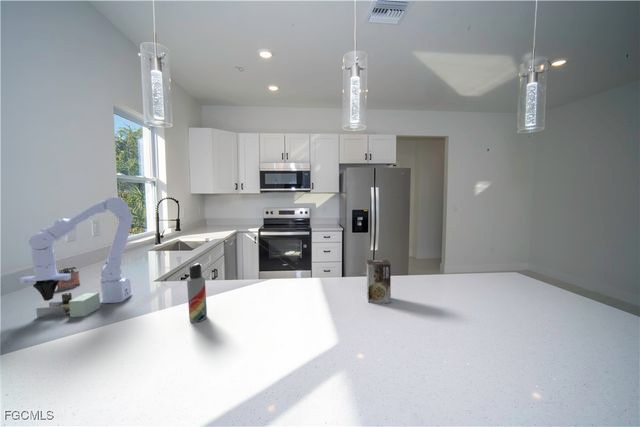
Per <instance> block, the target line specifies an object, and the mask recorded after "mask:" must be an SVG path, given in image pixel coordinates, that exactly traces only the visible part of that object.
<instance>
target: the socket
mask: <svg viewBox="0 0 640 427" xmlns="http://www.w3.org/2000/svg"><path fill="white" fill-rule="evenodd" d="M100 300H101V299H100V292H87V293H86V292H85V293H84V294H83V293H82V295H79V296H77V297H75V298H72V300H71V301H69V308H70V313H69V315H70V316H69V317H70V318H77V317H87V316H88V315H90V314H91V313H93V312H95V311H96V310H98V309H100V308H101V303H100Z"/></svg>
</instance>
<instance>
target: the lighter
mask: <svg viewBox="0 0 640 427" xmlns="http://www.w3.org/2000/svg"><path fill="white" fill-rule="evenodd" d="M77 267H78V266H76V265H74V266H70V267H65V266H64V267H63V268H59V269H58V272H59V274H71V279H69V280H60V281H59V283H58V285H57V286H56V291H63V290H68V289H72V288H76V287H80V286H81V283H80V282H81V281H80V274H79V273H80V270H79V269H78V268H77Z"/></svg>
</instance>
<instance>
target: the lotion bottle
mask: <svg viewBox="0 0 640 427" xmlns="http://www.w3.org/2000/svg"><path fill="white" fill-rule="evenodd" d="M188 269H189V277H187V280H186V282H187V283H186V284H187V285H186V287H187V299H188V300H187V301H188V302H187V303H188V318H189V321H190V322H191V321H192V322H191V323H199V322H198V321H200V322H203V321H204V319H205V318H206V319H207V317H208V311H207V310H208V309H207V308H208V307H207V295H206V294H207V292H206V289H207V288H206V277H205V276H204V275H203V273H202V272H203V271H202V264H200V263H195V264H192V265H190V266H189V268H188ZM206 319H205V320H206ZM202 320H203V321H202Z"/></svg>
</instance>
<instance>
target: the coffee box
mask: <svg viewBox="0 0 640 427" xmlns="http://www.w3.org/2000/svg"><path fill="white" fill-rule="evenodd" d="M391 265H392V264H391V263H390V260H388V259H366V298H367V299H366V300H367V302H368V303H372V304H373V303H374V304H379V303H380V304H391V303H392V302H391V301H392V300H391V298H392V297H391V296H392V294H391V292H392V291H391V289H392V288H391V287H392V286H391V282H392V281H391V280H392V279H391V269H392V268H391Z"/></svg>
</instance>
